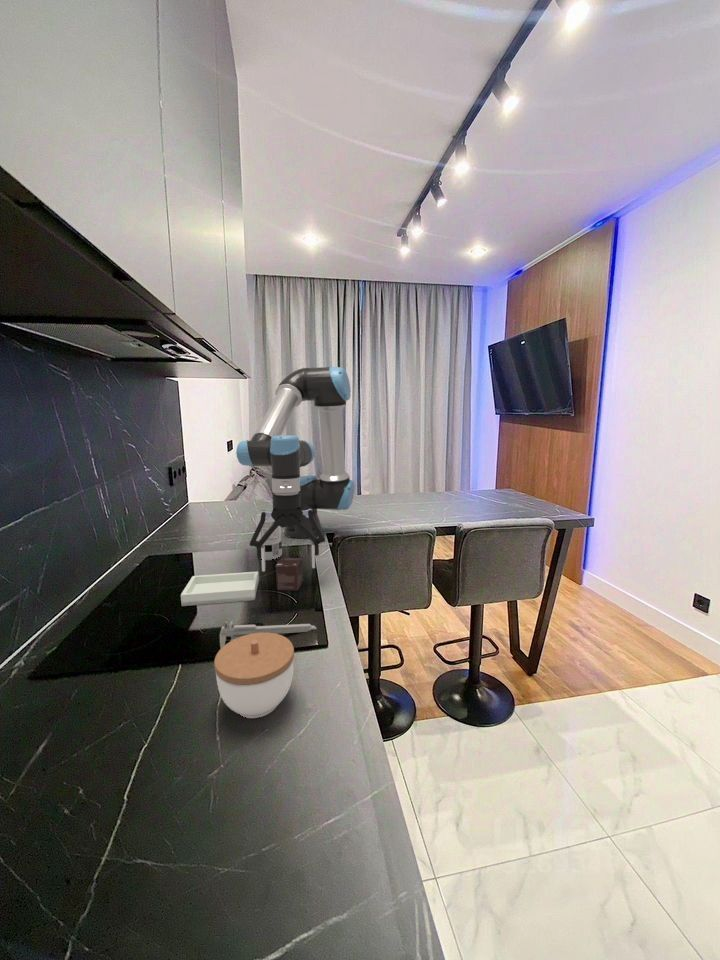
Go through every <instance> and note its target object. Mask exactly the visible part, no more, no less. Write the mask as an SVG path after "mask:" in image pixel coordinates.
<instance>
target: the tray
mask: <svg viewBox="0 0 720 960" xmlns="http://www.w3.org/2000/svg"><path fill="white" fill-rule="evenodd" d="M259 577H260V576H259V571H246V572H232V573H231V572H230V573H217V574H216V573H215V574H201V575H192V576H191V578H190V580H189V581H188V583H187V584H186V586H185V587H184V589H183V590H182V591H181V594H180V601H181V602H180V603H181V607H187V606H188V607H189V606H201V605H202V606H203V605H212V604H224V603H225V604H226V603H237V602H249V601H250V602H251V601H255V600H256V596H257V592H258V586H259V581H260V578H259Z"/></svg>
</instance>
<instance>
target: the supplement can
mask: <svg viewBox="0 0 720 960" xmlns="http://www.w3.org/2000/svg"><path fill="white" fill-rule="evenodd" d="M272 511H273V510H270V511H268V510H267V511H266V512H272ZM261 513H262V511H261V512H258V513H257V514H256V516H255V529H256V528H257V526H258V524H259V522H260V520H261ZM274 521H275V520H274V519H273V518H272V517H271V516H270V517H269V518H268V519H267V520H265V523H264V525H263V527H262V529H261V531H260V533H259V535H258V537H257V540H256V541H259V540H260V539H261V538H262V536H263V535H264V534H265V533H266V531H267V530H268V529H269V528H270V527H271V525H272V524H273V523H274ZM263 545H265V561H273V560H272V559H274V560H277V559H279V558H280V557H281V556H282V555H283V547H282V546H283V545H282V527H280V526H278V527H277V528H276V529H275V530H274V532H273V533H272V534H271V535H270V536H269V538H268V539H267V540H266V541H265V543H264V544H263ZM278 557H279V558H278ZM276 558H277V559H276Z"/></svg>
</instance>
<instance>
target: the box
mask: <svg viewBox="0 0 720 960" xmlns="http://www.w3.org/2000/svg"><path fill="white" fill-rule="evenodd" d="M275 576H276V577H275V580H276V590H277V591H299V589H300V587H301V586H302V583H303V582H304V581H303V579H304V577H303V559H302V558H301V557H300V558H299V557H298V558H297V557H281V559H279V561H278V562H277V564H276V565H275Z"/></svg>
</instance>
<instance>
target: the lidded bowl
mask: <svg viewBox="0 0 720 960" xmlns="http://www.w3.org/2000/svg"><path fill="white" fill-rule="evenodd" d="M214 657H215V658H214V662H213V664H214V671H215V672H214V673H215V678H216V684H217V689H218V692H219V695H220V697H221V699H222V701H223V702H224V704H225V705H226V707H228V708H229V709H230V710H231V711H233V712H234V713H236V714H238V715H239V714H240V715H241V716H240V715H239V716H240V717H242V716H243V717H242V718H245V717H246V719H259V717H260V718H264V717H265V716H268V715H269V714H271V713H272V712H273V711H275V710H276V708H277V707H278V706H279V704H281V702H282V701H284V699H285V698H286V696H287V694H288V693H289V691H290V688H291V685H292V681H293V676H294V658H295V647H294V644H293V642H292V641H291V640H290V639H289V638H288V637H286V636H284V635H281V634H275V633H267V632H266V633H253V634H248V635H244V636H241V637H239V638H236V639H234V640H232V641H229V642H227V643H225V646H223V647H222V648H220V649H219V650H218V652H217V653H216V655H215V656H214Z"/></svg>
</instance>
